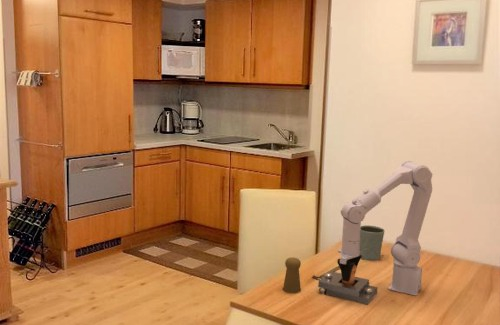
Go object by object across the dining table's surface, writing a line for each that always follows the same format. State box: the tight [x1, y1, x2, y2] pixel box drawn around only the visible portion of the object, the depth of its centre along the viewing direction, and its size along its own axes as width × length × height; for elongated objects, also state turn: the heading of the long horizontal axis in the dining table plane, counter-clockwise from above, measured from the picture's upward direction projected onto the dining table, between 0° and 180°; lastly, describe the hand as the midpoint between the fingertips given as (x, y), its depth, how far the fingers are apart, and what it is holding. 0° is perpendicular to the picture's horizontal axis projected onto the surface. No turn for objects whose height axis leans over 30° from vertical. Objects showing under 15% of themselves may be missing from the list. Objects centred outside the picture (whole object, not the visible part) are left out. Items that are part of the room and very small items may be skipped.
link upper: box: [317, 270, 370, 297], centre depth 171 cm, size 14×11×5 cm
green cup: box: [359, 225, 385, 262], centre depth 205 cm, size 10×10×12 cm
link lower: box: [325, 284, 378, 305], centre depth 169 cm, size 14×11×3 cm
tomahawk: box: [311, 265, 340, 282], centre depth 188 cm, size 21×7×1 cm, turn 138°
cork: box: [282, 257, 302, 294], centre depth 171 cm, size 6×6×11 cm
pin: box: [342, 265, 358, 286], centre depth 169 cm, size 5×5×7 cm
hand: (348, 278), depth 169 cm, fingers closed on pin, 5 cm apart
